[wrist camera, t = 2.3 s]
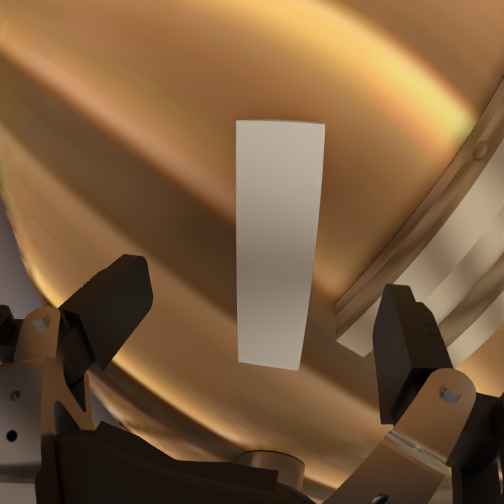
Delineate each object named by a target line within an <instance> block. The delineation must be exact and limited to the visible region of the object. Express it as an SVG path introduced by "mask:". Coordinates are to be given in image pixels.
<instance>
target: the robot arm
mask: <svg viewBox="0 0 504 504" xmlns="http://www.w3.org/2000/svg"><path fill="white" fill-rule="evenodd" d="M152 302H153V293H152V287H151V282H150V277H149V271H148V265H147V261H146V259H145V258H144V257H143V256H136V255H128V254H124V255H122V256H121V257H120V258H118V259H117V260H116V261H115V262H114V263H112V264H111V265H110V266H109V267H108V268H106V269H104V270H102V271H100V272H98V273H97V274H96V275H95V276H93V277H92V278H91V279H90V281H88V282H87V283H85V284H84V285H83V288H80V289H79V290H78V291H76V292H75V293H74V294H73V295H72V296H71V297H70V298H69V299H68V300H66V301H65V302H64V303H63V304H62V305H61V306H60V307H59V308H58V309H57V308H55V307H51V306H47V307H41V308H38V309H36V310H34V311H32V312H31V313H30V314H28V316H26V318H25V319H14V317H13V315H12V313H11V310H10V308H9V307H8V306H6V305H0V363H1V364H0V504H316V503H315V502H314V501H312V500H311V499H310V498H309V497H307V496H306V495H304V494H303V493H301V490H302V484H303V477H304V470H305V466H304V464H303V463H302V462H300V461H299V460H297V459H295V458H293V457H290V456H287V455H284V454H279V453H273V452H263V451H257V452H248V453H245V454H243V455H241V456H240V457H239V459H238V462H237V464H235V463H231V462H197V461H181V460H176V459H174V458H172V457H170V456H168V455H167V454H165V453H164V452H162V451H160V450H159V449H157V448H156V447H154V446H153V445H151V444H149V443H148V442H146V441H145V440H143V439H142V438H141V437H139V436H138V435H135V434H132V433H130V432H127V431H125V430H122V429H120V428H117V427H115V426H112V425H110V424H108V423H106V422H103V421H101V422H100V424H99V426H98V427H97V429H95V426H94V423H93V419H92V411H91V402H90V388H89V377H88V374H87V372H86V370H87V369H88V368H89V367H91V368H94V369H97V370H99V371H102V372H103V371H104V369H105V368H106V367H107V365H108V364H109V363H110V361H111V360H112V359H113V357H114V356H115V355H116V353H117V352H118V351H119V349H120V348H121V347H122V345H123V344H124V343H125V341H126V340H127V339H128V337H129V336H130V335H131V334H132V332H133V331H134V330H135V328H136V327H137V326H138V325H139V323H140V322H141V321H142V319H143V318H144V317H145V316H146V314H147V313H148V312H149V310H150V309H151V306H152ZM372 340H373V349H374V356H375V365H376V373H377V383H378V393H379V405H380V419H381V424H393V427H394V428H393V429H392V430H391V431H389V432H388V434H387V435H386V436H385V437H384V438H383V439H382V441H381V442H380V443H379V444H378V445H377V447H376V448H375V449H374V450H373V451H372V453H371V454H370V455H369V456H368V457H367V458H366V459H365V460H364V462H363V463H362V464H361V465H360V466H359V467H358V468H357V469H356V470H355V471H354V472H353V473H352V475H351V476H350V477H349V478H348V479H347V480H346V481H345V482H344V483H343V484H342V485H341V486H340V487H339V488H338V489H337V490H336V491H335V492H334V493H333V494H331V495H330V496H329V497H328V498H327V499H326V500H325V501H324V502H323V503H322V504H428V503H429V502H430V500H431V499H432V497H433V495H434V494H435V492H436V491H437V489H438V487H439V486H440V484H441V483H442V481H443V479H444V477H445V476H446V473H447V471H448V468H449V467H451V470H452V488H453V504H504V392H503V394H502V395H501V396H500V398H498V397H494V396H489V395H485V394H481V393H477V392H476V389H475V386H474V384H473V382H472V381H471V380H470V379H469V378H468V376H466V375H465V374H464V373H462V372H460V371H458V370H455V369H454V368H453V365H452V362H451V359H450V356H449V354H448V351H447V348H446V345H445V343H444V340H443V338H442V336H441V332H440V330H439V327H438V326H437V322H436V320H435V318H434V315H433V313H432V312H431V311H430V309H429V308H428V307H427V306H426V305H425V304H424V303H423V302H416V300H415V298H414V295H413V293H412V290H411V288H410V286H409V285H399V284H386V285H385V287H384V290H383V294H382V297H381V301H380V305H379V308H378V312H377V316H376V319H375V323H374V327H373V336H372ZM499 459H500V462H501V469H502V476H503V492H502V494H501V490H500V481H499V473H498V466H497V461H498V460H499Z"/></svg>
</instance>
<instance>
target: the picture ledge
mask: <svg viewBox="0 0 504 504" xmlns="http://www.w3.org/2000/svg"><path fill="white" fill-rule="evenodd" d="M386 284H399V285H409V286H410V288H411V290H412V293H413V295H414V298H415V300H416V302H423V303H424V304H425V305H426V306H427V307H428V308H429V309H430V311H431V312H432V313H433V315H434V318H435V320H436V322H437V326H438V327H439V330H440V332H441V336H442V338H443V340H444V343H445V345H446V348H447V351H448V354H449V356H450V359H451V362H452V365H453V368H454V369H455V368H456V367H457V366H458V365H460V364H461V363H462V362H463V361H464V360H465V359H467V358H468V357H469V356H470V355H471V354H472V353H473V352H474V351H475V350H477V349H478V348H479V347H480V346H481V345H482V344H483V343H484V342H485V341H486V340H487V339H488V338H489V337H490V336H491V335H492V334H493V333H494V332H495V331H496V330H497V329H498V328H499V327H500V326H501V325H502V324H503V323H504V77H503V79H502V81H501V83H500V85H499V86H498V88H497V90H496V92H495V94H494V95H493V97H492V99H491V101H490V102H489V104H488V106H487V107H486V109H485V111H484V112H483V114H482V116H481V117H480V119H479V121H478V122H477V124H476V125H475V127H474V129H473V130H472V132H471V133H470V135H469V136H468V138H467V139H466V141H465V143H464V144H463V146H462V147H461V149H460V150H459V152H458V153H457V155H456V156H455V157H454V159H453V160H452V162H451V163H450V165H449V166H448V168H447V169H446V170H445V172H444V173H443V175H442V176H441V177H440V179H439V180H438V182H437V183H436V184H435V186H434V187H433V188H432V190H431V191H430V192H429V194H428V195H427V196H426V198H425V199H424V200H423V202H422V203H421V204H420V206H419V207H418V208H417V210H416V211H415V212H414V213H413V215H412V216H411V217H410V218H409V220H408V221H407V222H406V224H405V225H404V226H403V227H402V229H401V230H400V231H399V232H398V233H397V235H396V236H395V237H394V238H393V240H392V241H391V242H390V243H389V244H388V246H387V247H386V248H385V249H384V250H383V251H382V253H381V254H380V255H379V256H378V257H377V258H376V260H375V261H374V262H373V263H372V264H371V265H370V267H369V268H368V269H367V270H366V271H365V272H364V273H363V274H362V276H361V277H360V278H359V279H358V280H357V281H356V282H355V283H354V284H353V286H352V287H351V288H350V289H349V290H348V291H347V292H346V293H345V294H344V295H343V296H342V298H341V299H340V300H339V301H338V302H337V303H336V304H335V312H336V341H337V342H338V343H340V344H342V345H344V346H345V347H347V348H349V349H350V350H352V351H354V352H355V353H357V354H359V355H361V356H362V357H365V356H366V355H367V354H368V353H369V352H371V351H372V350H373V340H372V336H373V327H374V323H375V319H376V316H377V312H378V308H379V305H380V301H381V297H382V294H383V290H384V287H385V285H386Z"/></svg>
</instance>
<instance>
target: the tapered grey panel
mask: <svg viewBox="0 0 504 504" xmlns="http://www.w3.org/2000/svg"><path fill="white" fill-rule="evenodd" d="M324 138H325V124H324V123H323V122H313V121H299V120H280V119H260V120H237V121H236V262H237V327H238V362H243V363H249V364H255V365H261V366H268V367H274V368H282V369H289V370H297V371H298V370H299V364H300V358H301V352H302V346H303V339H304V333H305V326H306V320H307V313H308V305H309V298H310V291H311V283H312V275H313V267H314V258H315V249H316V240H317V230H318V220H319V209H320V197H321V184H322V171H323V155H324Z"/></svg>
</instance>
